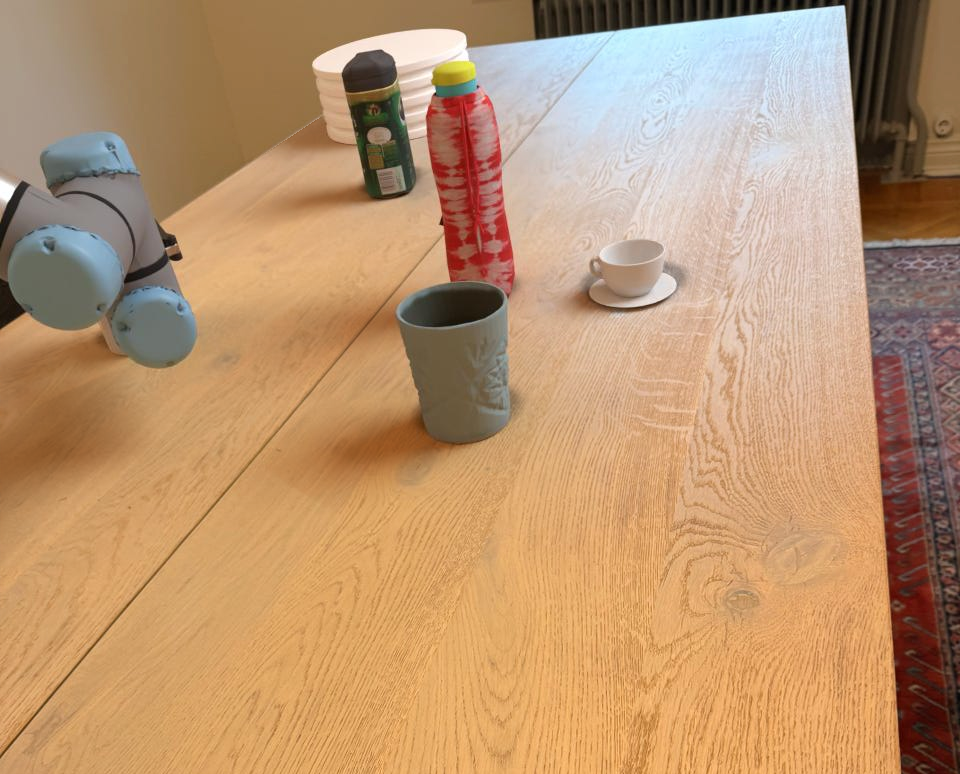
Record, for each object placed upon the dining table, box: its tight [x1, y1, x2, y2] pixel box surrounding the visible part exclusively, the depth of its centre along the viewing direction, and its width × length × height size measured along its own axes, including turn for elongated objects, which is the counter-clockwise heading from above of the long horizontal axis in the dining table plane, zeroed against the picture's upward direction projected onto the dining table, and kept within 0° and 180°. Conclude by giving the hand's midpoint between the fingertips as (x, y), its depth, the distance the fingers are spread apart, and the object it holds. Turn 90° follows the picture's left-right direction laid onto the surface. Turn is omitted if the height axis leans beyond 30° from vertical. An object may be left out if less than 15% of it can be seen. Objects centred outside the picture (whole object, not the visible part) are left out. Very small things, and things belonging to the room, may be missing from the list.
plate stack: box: [311, 28, 470, 146], centre depth 172 cm, size 28×28×12 cm
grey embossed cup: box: [395, 281, 511, 445], centre depth 89 cm, size 10×10×12 cm
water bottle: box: [426, 60, 516, 300], centre depth 105 cm, size 12×8×25 cm, turn 5°
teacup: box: [588, 238, 677, 308], centre depth 107 cm, size 10×10×5 cm
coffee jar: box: [342, 49, 417, 199], centre depth 141 cm, size 10×8×19 cm
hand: (98, 224), depth 114 cm, fingers closed on sprinkles bottle, 4 cm apart
